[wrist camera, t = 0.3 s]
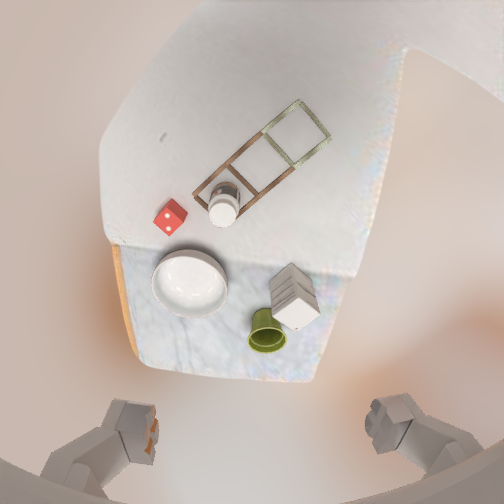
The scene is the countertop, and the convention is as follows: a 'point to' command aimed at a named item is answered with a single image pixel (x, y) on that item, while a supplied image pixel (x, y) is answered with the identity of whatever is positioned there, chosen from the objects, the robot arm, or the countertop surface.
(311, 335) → the countertop surface
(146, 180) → the countertop surface
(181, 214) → the red die
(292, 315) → the supplement box
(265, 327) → the plant pot
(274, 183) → the track frame
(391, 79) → the countertop surface
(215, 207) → the pill bottle
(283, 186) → the countertop surface
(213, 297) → the cereal bowl
